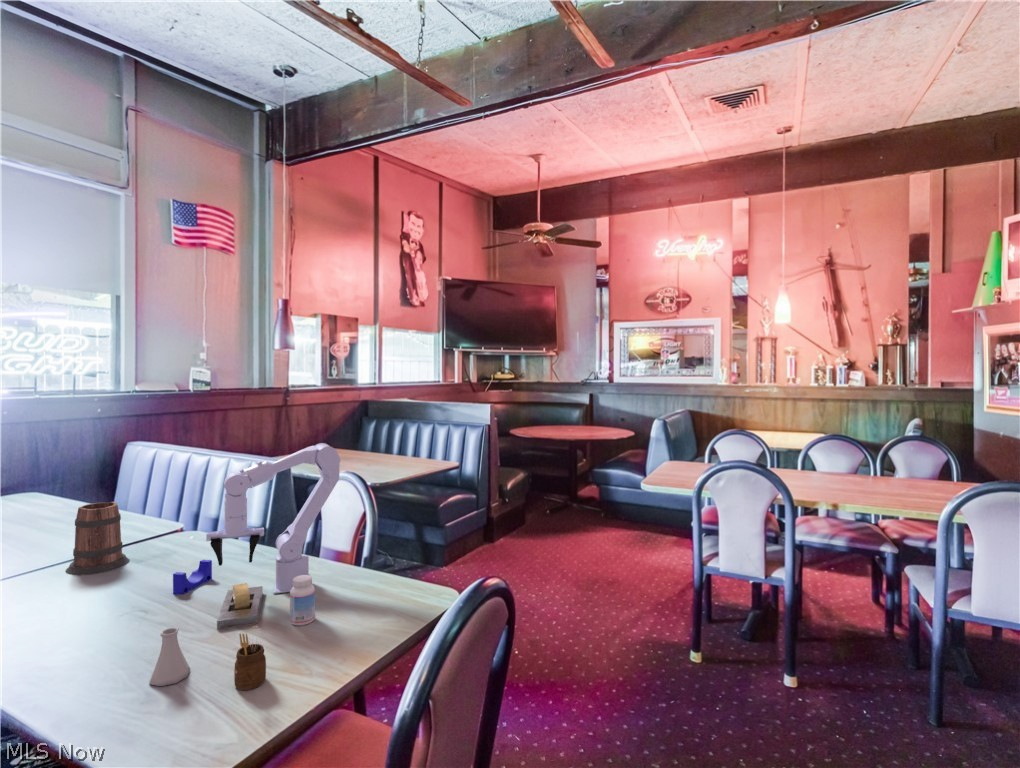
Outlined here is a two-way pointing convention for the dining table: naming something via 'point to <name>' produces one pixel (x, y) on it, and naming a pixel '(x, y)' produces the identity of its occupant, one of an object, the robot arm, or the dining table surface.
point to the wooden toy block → (241, 597)
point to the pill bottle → (302, 601)
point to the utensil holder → (249, 665)
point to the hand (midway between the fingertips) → (235, 562)
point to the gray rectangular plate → (240, 617)
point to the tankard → (97, 540)
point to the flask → (170, 661)
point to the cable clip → (192, 578)
